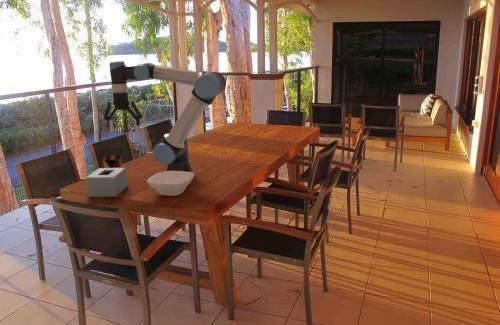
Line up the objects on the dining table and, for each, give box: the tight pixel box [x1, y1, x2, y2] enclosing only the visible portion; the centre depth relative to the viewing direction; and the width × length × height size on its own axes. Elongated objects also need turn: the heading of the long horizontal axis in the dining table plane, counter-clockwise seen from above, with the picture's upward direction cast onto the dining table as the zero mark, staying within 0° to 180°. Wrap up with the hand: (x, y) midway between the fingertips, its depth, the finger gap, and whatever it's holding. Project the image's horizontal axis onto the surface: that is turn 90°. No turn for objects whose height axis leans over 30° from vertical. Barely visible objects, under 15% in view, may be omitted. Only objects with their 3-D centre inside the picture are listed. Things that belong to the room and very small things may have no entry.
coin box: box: [85, 167, 128, 198], centre depth 222 cm, size 14×16×10 cm
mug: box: [102, 155, 123, 168], centre depth 241 cm, size 10×14×12 cm
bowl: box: [146, 170, 195, 197], centre depth 215 cm, size 21×21×9 cm
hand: (124, 132), depth 233 cm, fingers open, 13 cm apart
